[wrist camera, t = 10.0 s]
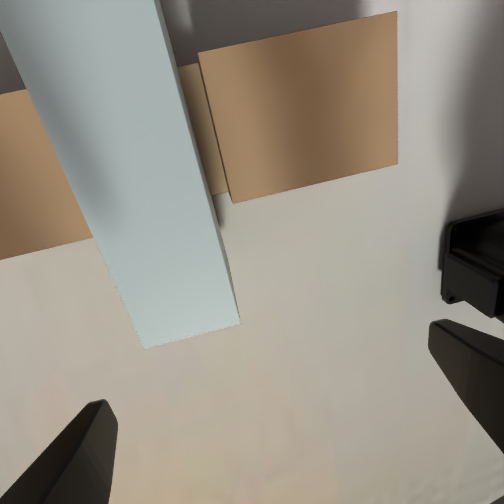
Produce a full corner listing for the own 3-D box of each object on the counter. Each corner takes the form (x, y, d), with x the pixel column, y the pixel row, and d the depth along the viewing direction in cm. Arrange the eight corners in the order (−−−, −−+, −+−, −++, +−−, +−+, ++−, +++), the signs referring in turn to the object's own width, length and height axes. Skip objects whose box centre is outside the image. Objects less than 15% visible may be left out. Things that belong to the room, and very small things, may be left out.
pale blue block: (228, 261, 18) (240, 323, 13) (160, 278, 18) (143, 349, 13) (146, -49, 12) (106, -176, 7) (45, -29, 12) (-80, -146, 7)
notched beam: (352, 34, 16) (396, 10, 12) (358, 154, 18) (397, 163, 15) (-95, 130, 15) (-191, 135, 11) (-23, 245, 17) (-83, 279, 14)
